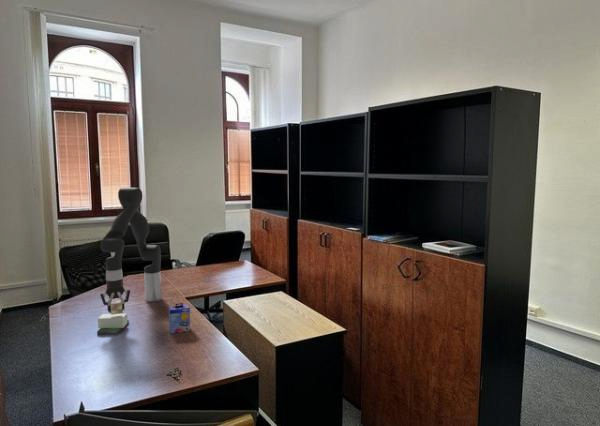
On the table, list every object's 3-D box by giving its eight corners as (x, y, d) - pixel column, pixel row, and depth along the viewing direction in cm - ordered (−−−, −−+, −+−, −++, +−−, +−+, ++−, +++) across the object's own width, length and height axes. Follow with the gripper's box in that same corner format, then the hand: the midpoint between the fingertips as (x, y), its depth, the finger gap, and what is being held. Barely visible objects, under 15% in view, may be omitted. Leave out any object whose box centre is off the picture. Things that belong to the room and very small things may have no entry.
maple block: (121, 309, 213) (120, 300, 212) (122, 313, 209) (121, 303, 208) (110, 311, 211) (109, 301, 210) (111, 314, 206) (110, 304, 206)
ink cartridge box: (170, 334, 206) (169, 305, 204) (168, 329, 211) (167, 301, 209) (190, 331, 210) (189, 302, 208) (189, 326, 215) (188, 299, 213)
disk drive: (108, 325, 219) (96, 336, 204) (108, 320, 218) (96, 331, 204) (129, 324, 219) (119, 336, 205) (128, 319, 219) (118, 330, 204)
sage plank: (127, 323, 215) (127, 313, 214) (123, 327, 209) (122, 318, 208) (103, 323, 214) (102, 313, 213) (98, 328, 208) (97, 318, 207)
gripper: (98, 282, 201) (101, 316, 203) (131, 278, 208) (132, 311, 210) (97, 278, 207) (99, 311, 210) (129, 274, 214) (130, 306, 216)
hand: (116, 311), depth 210 cm, fingers closed on maple block, 5 cm apart
